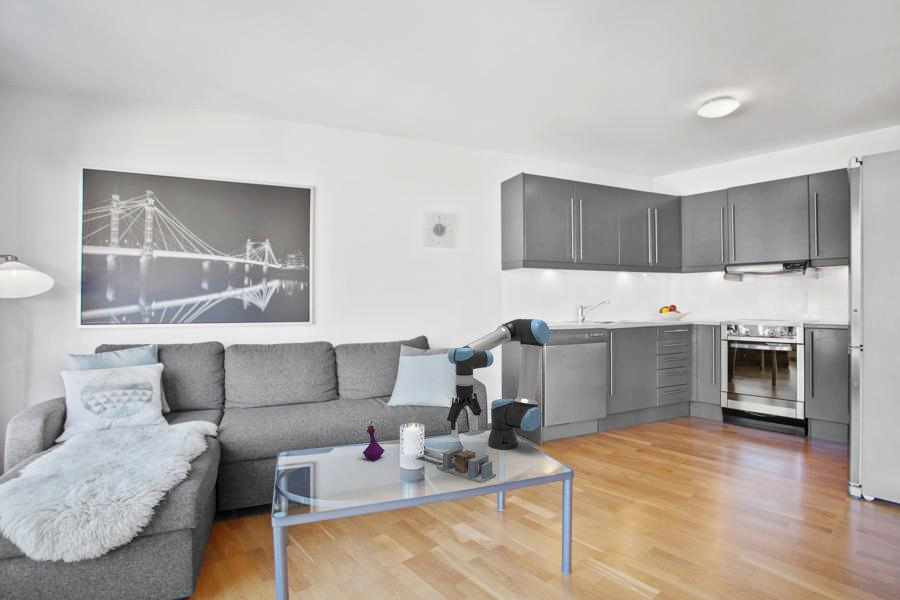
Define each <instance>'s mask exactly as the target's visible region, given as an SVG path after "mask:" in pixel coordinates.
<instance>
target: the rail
mask: <svg viewBox="0 0 900 600" xmlns="http://www.w3.org/2000/svg"><path fill="white" fill-rule="evenodd" d="M463 451H464V449H463V447H458V446H457V447H454V448H450V449H449V450H446V451H442V453H443V461H442V464H439V465H437V466H436V469H438V470H439V471H444V472H447V473H449V474H453V475H456V476H459V477H462V478H464V477H465V478H464V479H467V478H468V480H470V479H471V480H470V481H473V480H475V481H474V482H476V481H478V482H477V483H479V482H481V483H480V484H483V483H485V482H487V481H489V480H491V479H490V478H492V477H494V478H495V476H496V477H497V473H495V472H493V461H492V460H491V461H490V460H489V455H487V454H485V453H483V454H479V455H477V456H476V457H475V458H472V459H470V460H468V468H467V467H466V473H465V474H463V473H460V472H457V471H455V464H452V456H453V457H455V454H458V453H461V452H463ZM488 479H489V480H488ZM492 479H493V478H492ZM486 480H487V481H486ZM484 481H485V482H484ZM482 482H483V483H482Z"/></svg>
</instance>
